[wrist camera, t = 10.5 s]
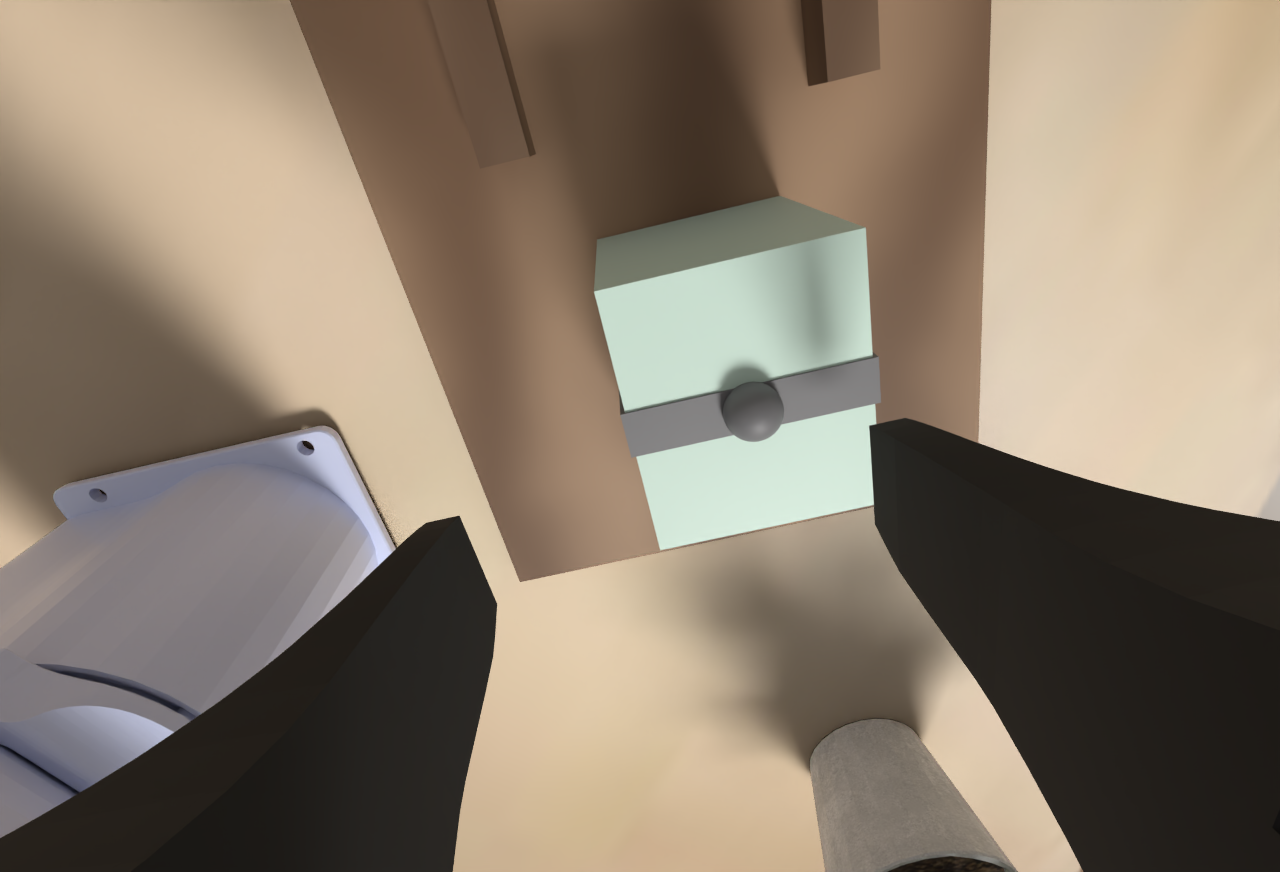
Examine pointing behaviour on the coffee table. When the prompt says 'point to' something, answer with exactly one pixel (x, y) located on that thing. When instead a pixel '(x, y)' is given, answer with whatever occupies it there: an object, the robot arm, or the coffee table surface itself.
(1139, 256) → the coffee table surface
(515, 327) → the shelf
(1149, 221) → the coffee table surface
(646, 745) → the coffee table surface
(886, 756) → the house plant
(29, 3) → the coffee table surface
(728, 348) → the sage block
